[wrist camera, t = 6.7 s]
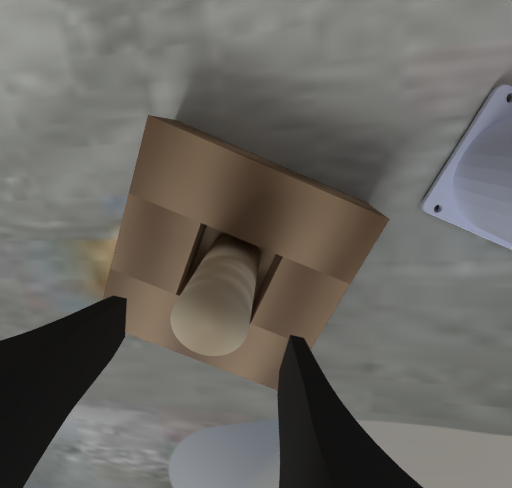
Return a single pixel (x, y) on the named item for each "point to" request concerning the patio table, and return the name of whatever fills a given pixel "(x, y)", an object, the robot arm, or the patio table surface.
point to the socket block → (240, 226)
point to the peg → (218, 299)
